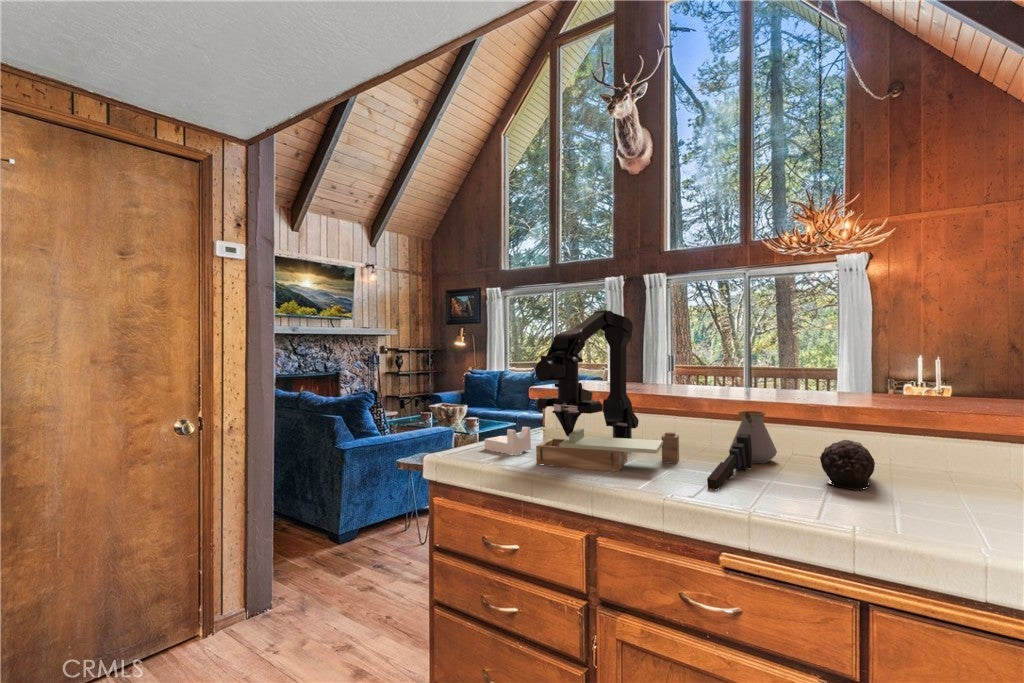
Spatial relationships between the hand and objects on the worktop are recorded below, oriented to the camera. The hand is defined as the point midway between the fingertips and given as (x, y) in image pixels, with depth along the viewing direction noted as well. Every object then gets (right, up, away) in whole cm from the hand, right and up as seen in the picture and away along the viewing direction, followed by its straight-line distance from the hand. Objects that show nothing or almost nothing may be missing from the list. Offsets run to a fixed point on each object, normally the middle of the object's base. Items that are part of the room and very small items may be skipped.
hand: (569, 436), depth 144 cm
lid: (+11, -2, -5) cm, 12 cm away
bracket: (-17, -8, +16) cm, 25 cm away
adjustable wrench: (+36, -7, -19) cm, 41 cm away
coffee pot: (+47, -6, -7) cm, 48 cm away
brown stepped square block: (+27, -6, -2) cm, 28 cm away
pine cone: (+61, -6, -24) cm, 65 cm away
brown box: (+3, -7, -1) cm, 8 cm away
